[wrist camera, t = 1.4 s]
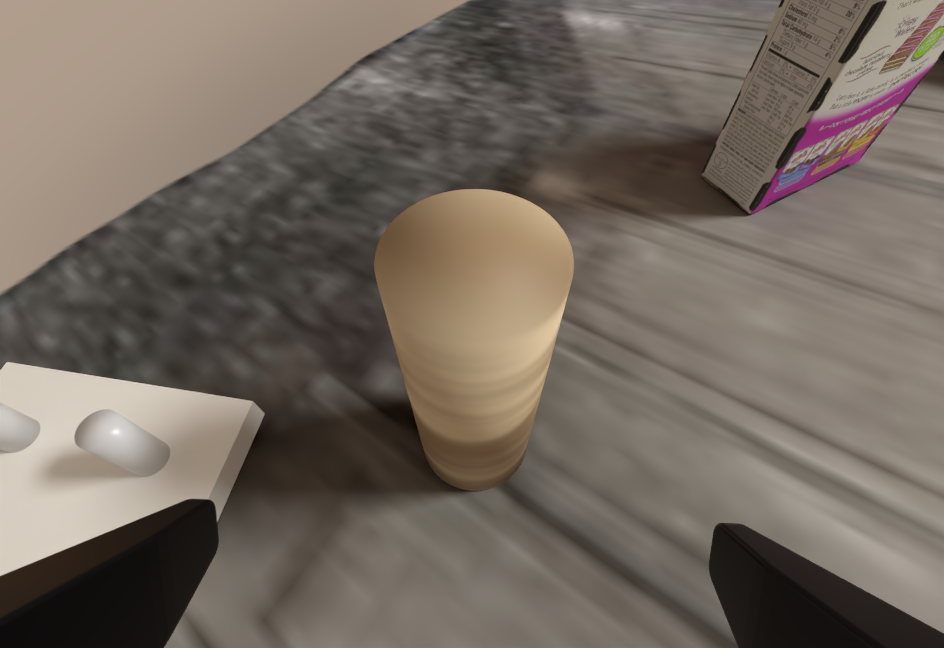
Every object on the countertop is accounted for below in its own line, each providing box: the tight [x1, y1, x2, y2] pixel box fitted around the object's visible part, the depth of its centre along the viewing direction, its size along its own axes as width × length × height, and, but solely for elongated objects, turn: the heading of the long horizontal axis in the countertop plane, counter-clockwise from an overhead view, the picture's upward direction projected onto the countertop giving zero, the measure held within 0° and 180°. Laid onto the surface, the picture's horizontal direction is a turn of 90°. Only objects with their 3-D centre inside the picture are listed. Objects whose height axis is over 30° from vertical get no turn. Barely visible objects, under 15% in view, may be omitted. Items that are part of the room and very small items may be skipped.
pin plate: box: [0, 362, 265, 576], centre depth 18 cm, size 13×13×5 cm
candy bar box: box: [701, 0, 944, 214], centre depth 27 cm, size 11×5×16 cm, turn 120°
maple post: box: [374, 189, 574, 491], centre depth 17 cm, size 5×5×13 cm
